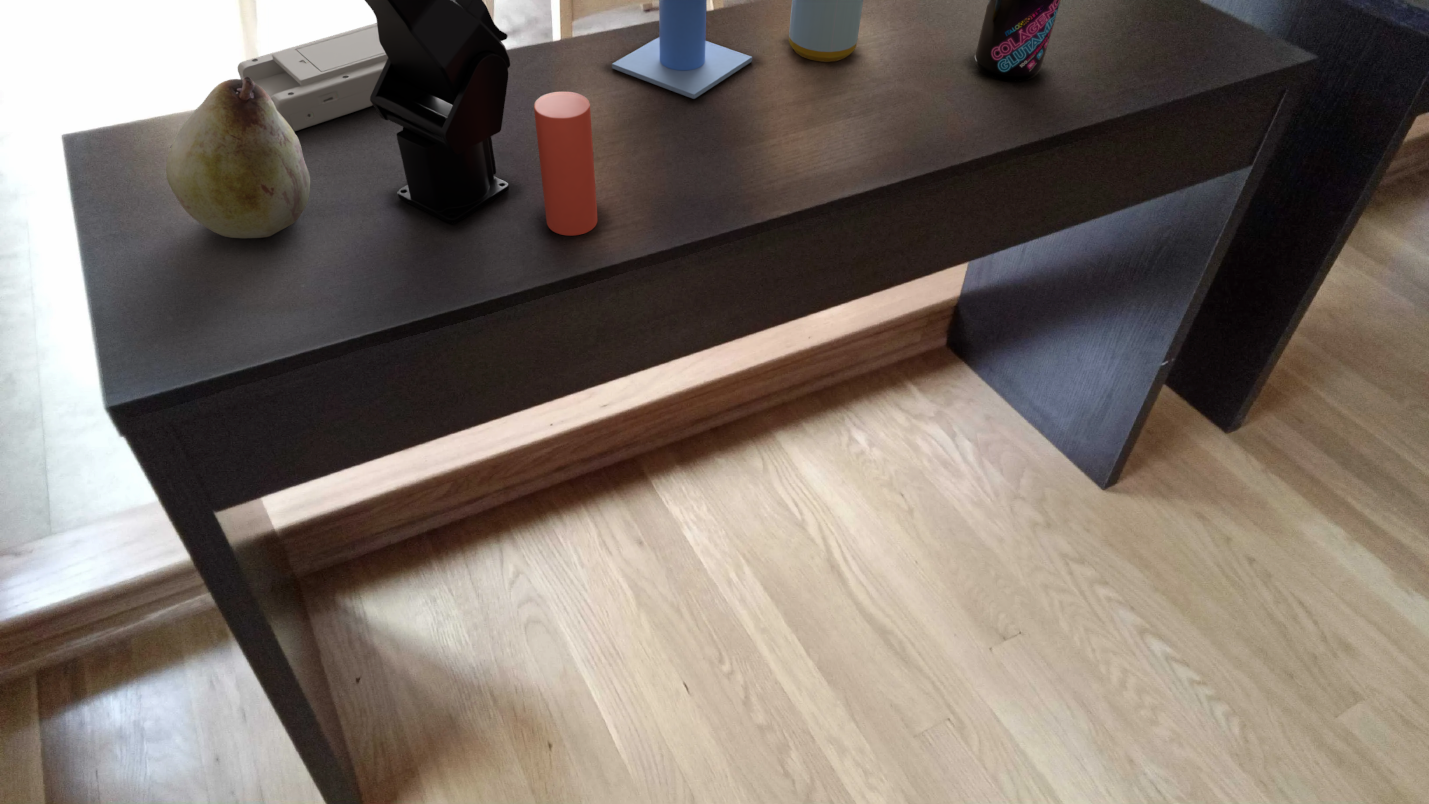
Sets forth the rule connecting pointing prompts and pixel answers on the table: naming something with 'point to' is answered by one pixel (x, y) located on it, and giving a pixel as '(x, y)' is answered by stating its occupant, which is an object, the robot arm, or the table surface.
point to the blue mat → (686, 82)
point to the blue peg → (682, 33)
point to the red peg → (566, 162)
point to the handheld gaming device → (320, 76)
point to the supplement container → (1015, 38)
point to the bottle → (824, 28)
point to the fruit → (239, 164)
